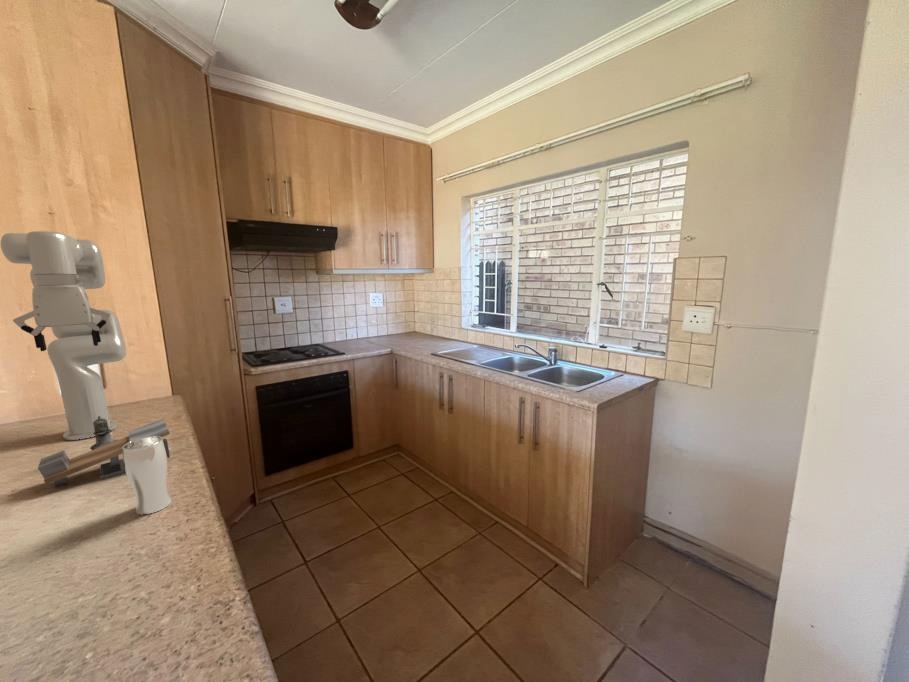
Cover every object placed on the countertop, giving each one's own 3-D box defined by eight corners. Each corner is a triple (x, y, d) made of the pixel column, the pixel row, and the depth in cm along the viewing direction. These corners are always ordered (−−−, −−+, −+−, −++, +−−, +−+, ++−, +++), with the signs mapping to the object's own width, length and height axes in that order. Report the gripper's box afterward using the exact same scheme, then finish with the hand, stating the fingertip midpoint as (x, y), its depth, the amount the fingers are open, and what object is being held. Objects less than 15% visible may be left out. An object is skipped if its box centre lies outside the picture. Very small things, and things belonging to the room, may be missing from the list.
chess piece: (103, 462, 100) (95, 420, 98) (86, 460, 101) (78, 419, 99) (126, 452, 105) (118, 412, 103) (110, 450, 107) (102, 411, 104)
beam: (51, 469, 91) (42, 455, 90) (166, 424, 106) (160, 411, 105) (45, 486, 84) (36, 471, 83) (170, 435, 99) (164, 421, 97)
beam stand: (57, 479, 91) (53, 462, 91) (167, 450, 106) (165, 435, 105) (53, 493, 86) (49, 474, 85) (170, 460, 100) (168, 444, 99)
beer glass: (128, 520, 76) (115, 453, 73) (138, 502, 82) (126, 439, 79) (170, 510, 79) (159, 445, 76) (176, 493, 85) (166, 432, 82)
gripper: (104, 281, 102) (115, 342, 105) (8, 283, 91) (24, 351, 93) (103, 280, 96) (115, 344, 99) (1, 282, 85) (17, 354, 88)
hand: (70, 347), depth 96 cm, fingers open, 9 cm apart
